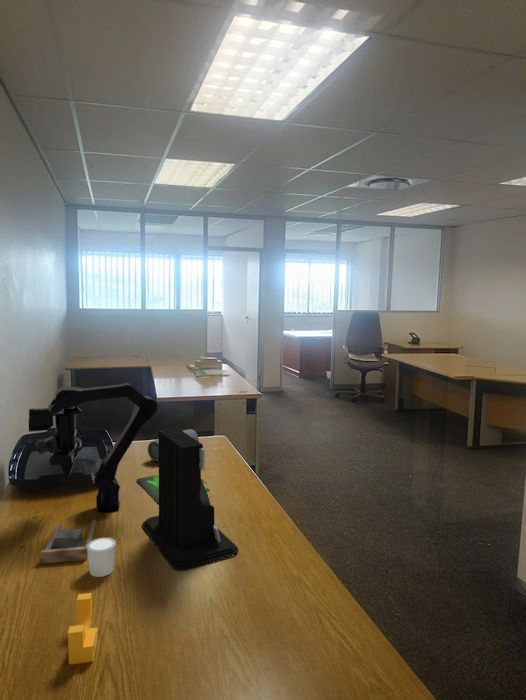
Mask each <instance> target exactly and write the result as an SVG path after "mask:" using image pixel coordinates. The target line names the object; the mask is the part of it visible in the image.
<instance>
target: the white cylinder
mask: <svg viewBox="0 0 526 700" xmlns="http://www.w3.org/2000/svg"><path fill="white" fill-rule="evenodd" d="M87 552H88V557H87V560H88V568H89V573H90V576H92V577H94V578H95V577H98V578H101V577H102V578H103V577H105V576H108V575H110V574H112V573H113V571H114V567H115V555H116V540H115V539H113V538H112V537H100V538H94V539H93V540H92V541H91V542H89V543H88V544H87Z"/></svg>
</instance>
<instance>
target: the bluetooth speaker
mask: <svg viewBox="0 0 526 700" xmlns="http://www.w3.org/2000/svg"><path fill="white" fill-rule="evenodd" d="M182 431H183V432H185V434H187V435H189V436H190V437H192V438H194V439H195V440H197V442H198V441H199V442H200V439H199V436H198V433H197V432H196V430H194V429H183V430H182ZM147 454H148V456H149V458H150V459H151V460H152V461H156V462H159V438H157V439H154V440H152V441H151V442H149V444H148V446H147Z"/></svg>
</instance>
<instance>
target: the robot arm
mask: <svg viewBox="0 0 526 700" xmlns="http://www.w3.org/2000/svg"><path fill="white" fill-rule="evenodd" d="M117 398H118V399H119V398H127V399H128V400H129V401H131V402H132V403H133V404H134V406H133V409H132V412H131V416H130V419H129V421H128V422H127V424H126V425H125V427H124V429H123V430H122V432H121V433H120V435H119V436H118V439H117V440H116V442H114V444H113V446H112V448H111V449H110V451H109V453H108V454H107V455H106V457H104V458H103V459H101V458H99V457H98V458H97V460H96V462H95V464H94V465H93V466H92V468H91V470H92V471H91V475H90V476H91V479H92V481H93V484H94V486H95V487H96V488H97V489H98V491H97V493H96V496H95V498H96V506H95V508H96V509H97V513H103V512H104V513H106V512H107V513H109V512H118V511H119V510H120V505H121V501H120V489H121V486H120V483H119V481H118V479H117V478H116V475H117V470H118V468H119V467H118V466H119V464H120V462H121V461H122V459H123V457H124V456H125V454H126V453H127V450H129V448H130V446H131V445H132V443H133V442H134V440H135V438H136V436H137V435H138V433H139V432H140V430H141V429H142V427H143V426H144V425H145V424H147V423H148V422H149V421H150V420H151V419H152V418H153V416H155V415H156V413H157V412H158V410H159V407H158V406H159V405H158V403H157V402H156V400H155V399H153V398H152V397H151V396H149V395H143V394H142V393H141V392H139V391H138V390H137V389H136V388H134V387H133V385H132V384H130V383H129V382H124V383H121V384H113V385H103V386H94V387H78V386H60V387H58V388H57V390H56V391H55V392H54V398H53V399H52V401H51V402H50V403H49V404H48V406H47V407H46V408H45V407H44V408H29V409H28V433H32V432H34V433H35V432H43V431H50V429H52V427H54V426H55V432H54V433H53V434H52V436H49V437H47V438H43V439H40V440H38V441H37V442H36V443H35V445H34V447H35V451H36V452H37V453H38V455H43V454H44V453H46V452H50V451H51V450H53V453H52V454H51V455H50V457H49V458H48V465H50V466H60V467H61V470H62V473H63V476H64V479H68V478H69V477H70V475H71V472H72V470H73V467H74V465H75V462H76V460H77V458H78V455H79V451H75V450H76V448H78V449H80V448H81V447H82V439H80V437H77V433H78V429H77V428H76V425H77V424H76V422H77V421H76V415H80V414H82V413H83V411H82V409H81V408H79V407H78V406H79V405H80V406H81V405H82V404H84V403H88V402H93V401H102V400H108V399H109V400H110V399H111V400H112V399H117ZM54 417H55V418H54ZM54 420H55V425H54Z"/></svg>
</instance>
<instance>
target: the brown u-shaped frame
mask: <svg viewBox="0 0 526 700" xmlns="http://www.w3.org/2000/svg"><path fill="white" fill-rule="evenodd" d="M97 524H98V523H97V520H92V522H91V525H90V527H89V531H88V535H87V538H86V541H85V544H84V546H80V547H73V548H61V549H54V537H55V536H56V534H57V533H58V532H59V530H60V529H62V523H56V524H55V526H54V528H53V531H52V533H51V534H50V535H51V536H50V538H49V540H48V542H47V545H46V547H45V549H41V550H40V553H39V554H40V556H39V557H40V564H41V565H42V564H43V565H44V564H53V563H61V562H62V563H64V562H77V561H85V560H88V552H87V544H88V543H89V542H91V541H93V540H94V537H95V533H96V529H97ZM52 547H53V548H52Z"/></svg>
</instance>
